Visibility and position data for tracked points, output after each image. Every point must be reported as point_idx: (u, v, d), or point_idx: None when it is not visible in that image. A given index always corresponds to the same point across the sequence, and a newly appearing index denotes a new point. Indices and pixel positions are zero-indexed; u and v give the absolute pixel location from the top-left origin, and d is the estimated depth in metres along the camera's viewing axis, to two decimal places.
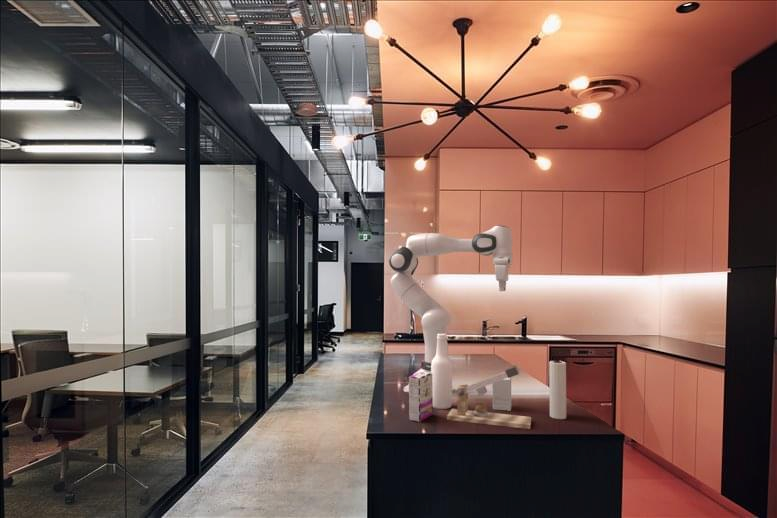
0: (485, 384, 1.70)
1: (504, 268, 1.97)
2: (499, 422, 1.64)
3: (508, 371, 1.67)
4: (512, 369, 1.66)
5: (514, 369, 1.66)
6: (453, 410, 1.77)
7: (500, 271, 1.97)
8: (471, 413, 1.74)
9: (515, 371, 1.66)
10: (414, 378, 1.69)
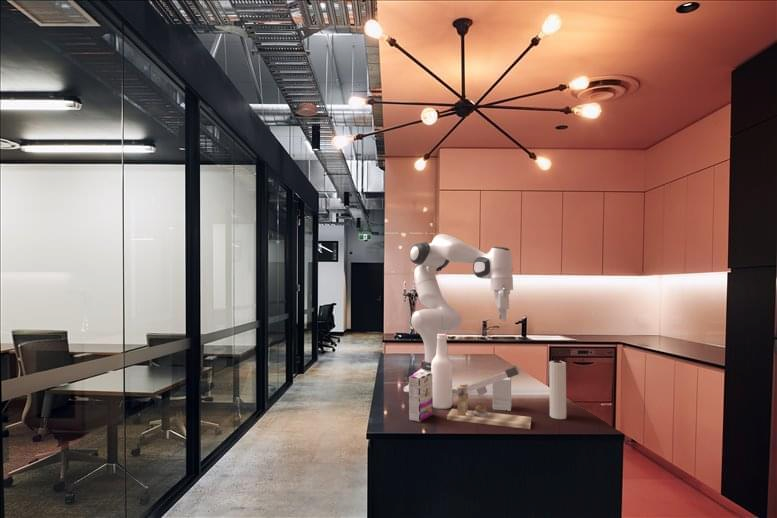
0: (485, 384, 1.70)
1: None
2: (499, 422, 1.64)
3: (508, 371, 1.67)
4: (512, 369, 1.66)
5: (514, 369, 1.66)
6: (453, 410, 1.77)
7: None
8: (471, 413, 1.74)
9: (515, 371, 1.66)
10: (414, 378, 1.69)
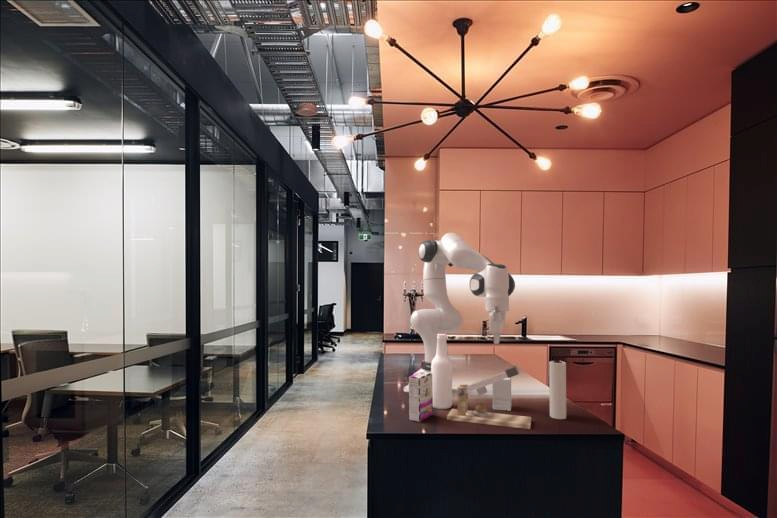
0: (485, 384, 1.70)
1: None
2: (499, 422, 1.64)
3: (508, 371, 1.67)
4: (512, 369, 1.66)
5: (514, 369, 1.66)
6: (453, 410, 1.77)
7: None
8: (471, 413, 1.74)
9: (515, 371, 1.66)
10: (414, 378, 1.69)
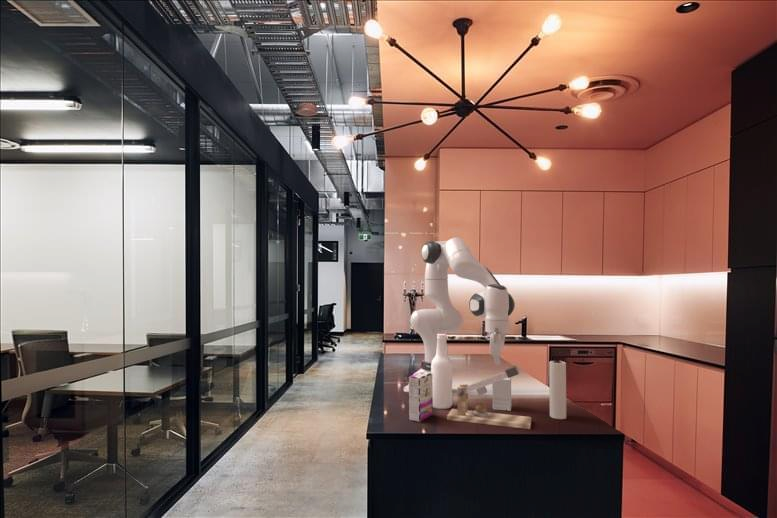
0: (485, 384, 1.70)
1: None
2: (499, 422, 1.64)
3: (508, 371, 1.67)
4: (512, 369, 1.66)
5: (514, 369, 1.66)
6: (453, 410, 1.77)
7: None
8: (471, 413, 1.74)
9: (515, 371, 1.66)
10: (414, 378, 1.69)
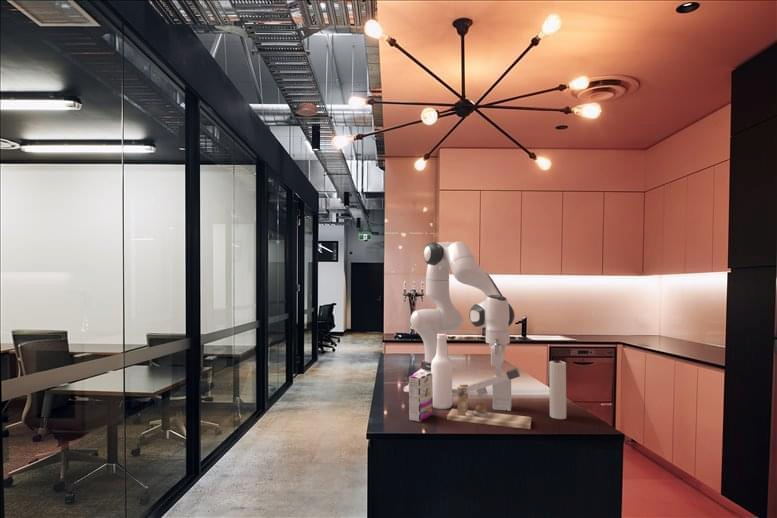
0: (485, 385, 1.69)
1: None
2: (499, 422, 1.64)
3: (509, 373, 1.66)
4: (513, 372, 1.66)
5: (515, 371, 1.66)
6: (453, 410, 1.77)
7: None
8: (471, 413, 1.74)
9: (516, 373, 1.66)
10: (414, 378, 1.69)
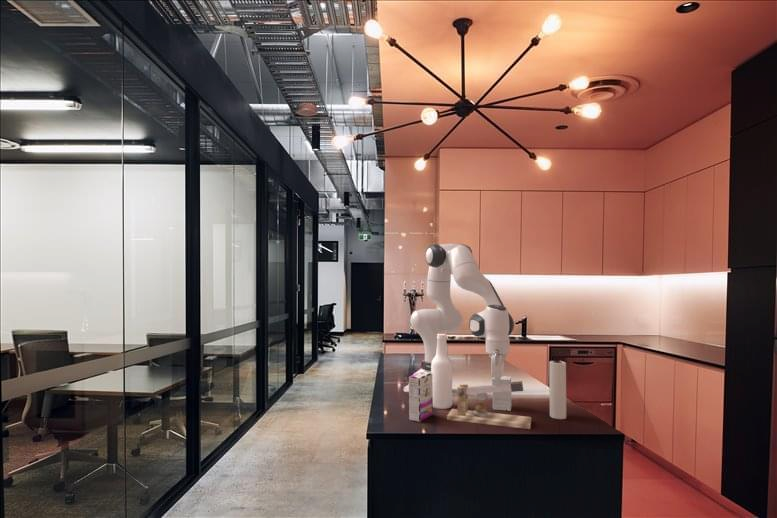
0: (487, 391, 1.69)
1: None
2: (499, 422, 1.64)
3: (513, 385, 1.66)
4: (517, 385, 1.65)
5: (520, 385, 1.65)
6: (453, 410, 1.77)
7: None
8: (471, 413, 1.74)
9: (520, 387, 1.65)
10: (414, 378, 1.69)
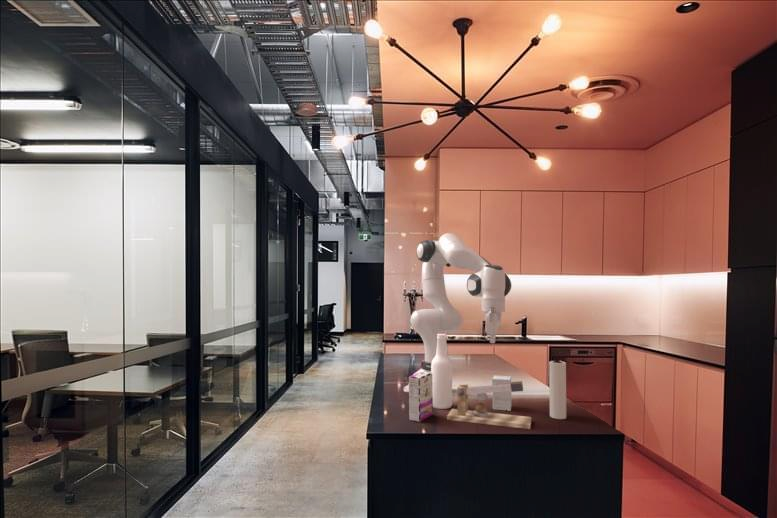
0: (487, 391, 1.69)
1: None
2: (499, 422, 1.64)
3: (513, 385, 1.66)
4: (517, 385, 1.65)
5: (520, 385, 1.65)
6: (453, 410, 1.77)
7: None
8: (471, 413, 1.74)
9: (520, 387, 1.65)
10: (414, 378, 1.69)
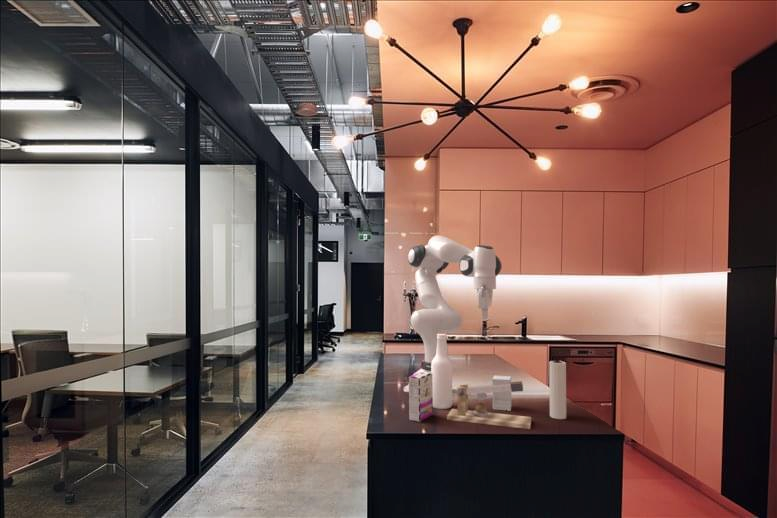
0: (487, 391, 1.69)
1: None
2: (499, 422, 1.64)
3: (513, 385, 1.66)
4: (517, 385, 1.65)
5: (520, 385, 1.65)
6: (453, 410, 1.77)
7: None
8: (471, 413, 1.74)
9: (520, 387, 1.65)
10: (414, 378, 1.69)
